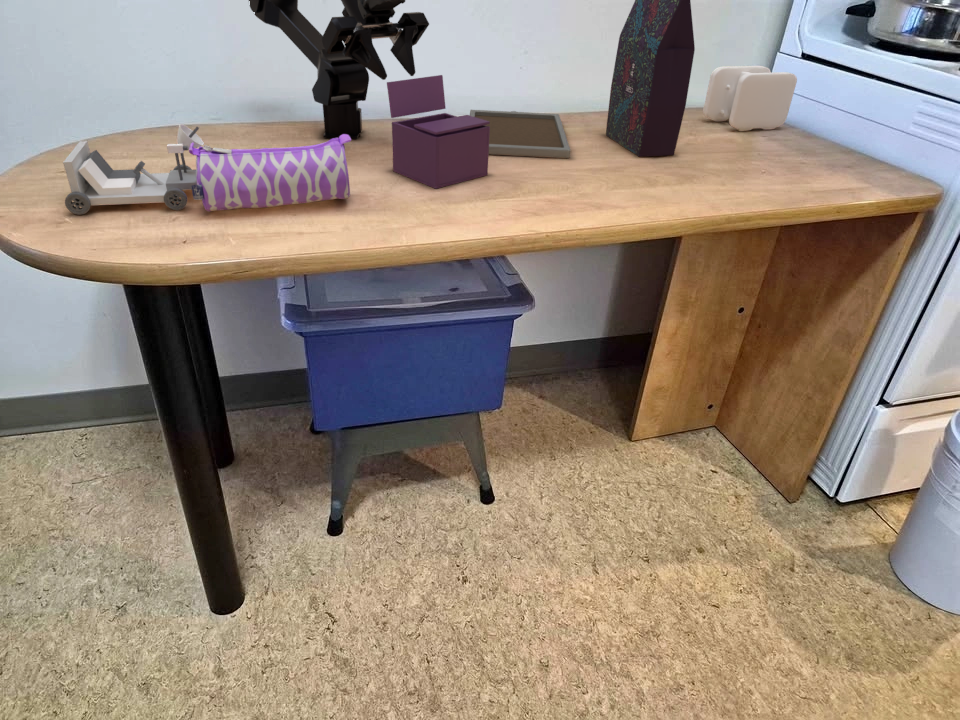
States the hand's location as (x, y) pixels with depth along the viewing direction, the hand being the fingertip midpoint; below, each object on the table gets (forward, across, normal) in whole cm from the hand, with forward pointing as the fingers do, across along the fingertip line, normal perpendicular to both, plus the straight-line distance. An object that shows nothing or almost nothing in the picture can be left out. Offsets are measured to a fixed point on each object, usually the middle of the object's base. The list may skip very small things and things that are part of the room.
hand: (399, 76), depth 114 cm
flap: (+5, 0, -2) cm, 5 cm away
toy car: (+5, -42, +14) cm, 45 cm away
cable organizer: (+27, +77, -8) cm, 82 cm away
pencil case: (+15, -29, +5) cm, 33 cm away
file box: (+17, 0, +2) cm, 17 cm away
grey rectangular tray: (+10, +28, +9) cm, 32 cm away
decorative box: (+24, +43, -5) cm, 50 cm away
